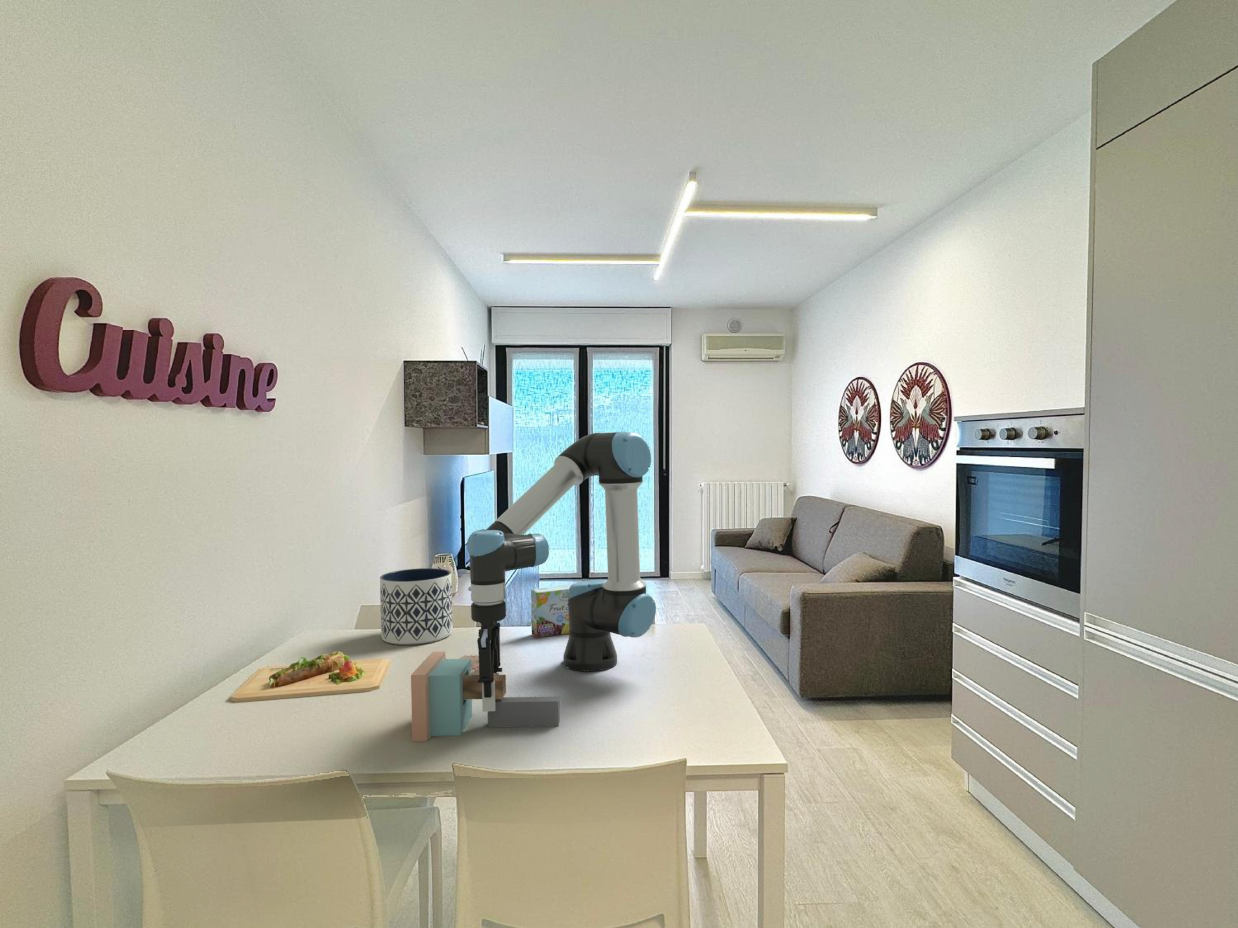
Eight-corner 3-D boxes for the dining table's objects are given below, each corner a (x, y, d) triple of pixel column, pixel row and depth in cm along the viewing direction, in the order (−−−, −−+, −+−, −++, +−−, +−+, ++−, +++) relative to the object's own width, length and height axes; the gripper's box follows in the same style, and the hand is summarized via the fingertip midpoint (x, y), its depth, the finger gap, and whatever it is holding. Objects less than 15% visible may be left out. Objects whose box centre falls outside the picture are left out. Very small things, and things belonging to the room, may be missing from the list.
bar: (505, 692, 150) (505, 674, 150) (502, 698, 146) (502, 680, 146) (447, 692, 150) (447, 674, 150) (443, 699, 146) (442, 681, 146)
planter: (390, 628, 230) (388, 569, 229) (456, 625, 232) (455, 566, 231) (373, 647, 207) (371, 582, 207) (447, 644, 210) (446, 579, 209)
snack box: (537, 639, 214) (536, 592, 214) (531, 634, 219) (530, 588, 219) (597, 629, 224) (596, 584, 223) (590, 625, 229) (589, 581, 228)
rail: (559, 720, 150) (559, 696, 150) (558, 725, 147) (558, 701, 147) (490, 721, 150) (489, 697, 150) (487, 726, 147) (487, 702, 147)
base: (446, 710, 157) (445, 651, 156) (426, 740, 141) (425, 674, 140) (433, 710, 157) (432, 651, 156) (412, 741, 141) (410, 675, 140)
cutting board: (391, 664, 194) (390, 638, 193) (378, 693, 171) (377, 664, 170) (260, 673, 187) (259, 646, 187) (228, 705, 164) (227, 675, 164)
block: (472, 714, 154) (470, 658, 154) (460, 735, 143) (459, 675, 143) (443, 715, 154) (442, 658, 154) (430, 735, 143) (428, 675, 143)
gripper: (479, 593, 156) (482, 692, 157) (462, 611, 139) (465, 722, 140) (511, 592, 156) (514, 691, 157) (498, 610, 139) (501, 721, 140)
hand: (491, 706), depth 148 cm, fingers closed on bar, 4 cm apart
